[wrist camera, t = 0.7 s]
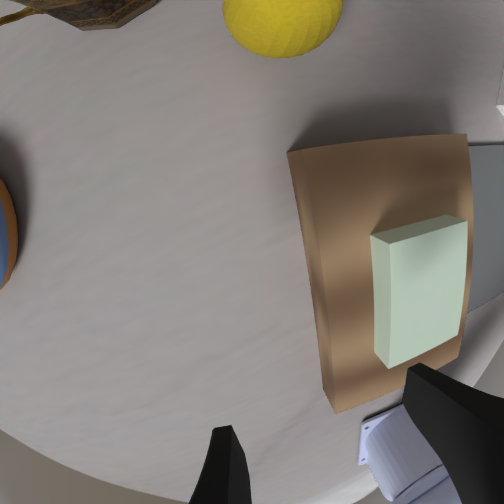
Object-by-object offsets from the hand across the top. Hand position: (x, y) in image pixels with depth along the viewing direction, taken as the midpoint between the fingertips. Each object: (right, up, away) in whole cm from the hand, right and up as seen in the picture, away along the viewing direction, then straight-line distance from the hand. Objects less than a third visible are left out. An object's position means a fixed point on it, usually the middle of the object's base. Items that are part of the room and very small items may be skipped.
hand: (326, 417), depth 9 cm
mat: (+19, +8, +11) cm, 23 cm away
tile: (+7, +4, +7) cm, 11 cm away
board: (+7, +5, +10) cm, 13 cm away
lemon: (-2, +19, +5) cm, 20 cm away
